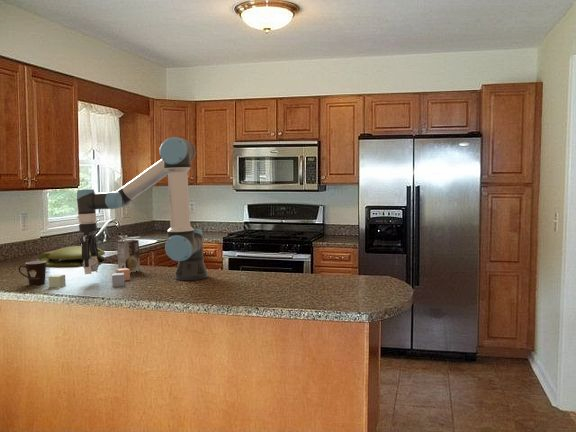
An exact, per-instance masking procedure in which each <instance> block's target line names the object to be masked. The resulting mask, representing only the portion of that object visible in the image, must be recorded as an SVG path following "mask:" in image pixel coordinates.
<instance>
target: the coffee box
mask: <svg viewBox="0 0 576 432" xmlns="http://www.w3.org/2000/svg"><path fill="white" fill-rule="evenodd" d="M116 248H117V249H116V250H117V269H122V268H128V269H130V274H131V272H132V273H136V271H137V272H141V261H140V242H139V240H138V239H125V240H124V239H123V240H118V241H116Z"/></svg>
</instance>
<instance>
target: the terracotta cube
mask: <svg viewBox="0 0 576 432" xmlns="http://www.w3.org/2000/svg"><path fill="white" fill-rule="evenodd" d="M115 273H124V281H130V280H131V273H130V269H128V268H122V269H118V268H115Z"/></svg>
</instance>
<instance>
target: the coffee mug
mask: <svg viewBox="0 0 576 432" xmlns="http://www.w3.org/2000/svg"><path fill="white" fill-rule="evenodd" d="M21 268H25V269H26V273H27V275H26V274H24V273H23V272H21ZM17 270H18V272H19V273H20V274H21V275H22V276H23V277H25V278H26V279H28V284H29V286H32V285H35V286H41V285H40V284H42V285H45V284H46V272H47V267H46V261H40V260H37V261H36V260H35V261H28V262H25V265H23V264H22V265H20V266H19V267H18V269H17ZM44 283H45V284H44Z"/></svg>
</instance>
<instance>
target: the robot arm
mask: <svg viewBox="0 0 576 432" xmlns="http://www.w3.org/2000/svg"><path fill="white" fill-rule="evenodd" d="M195 155H196V148H195V146H194V144H193V143H192V142H191V141H189V140H188V139H185V138H181V137H179V136H178V137H177V136H173V137H168V138H167V139H164V141H162V143H161V144H160V147H159V156H160V158H161V159H160V160H158V161H157V162H155V163H154V164H152V165H151V166H150V167H148V168H146V169H145V170H144V171H143V172H141V173H140V174H138V175H137V176H136V177H134V178H133V179H131V180H130V181H128V182H127V183H126V184H125V185H123V186H122V187H120V188H119V189H117V190H116V191H109V192H108V191H107V192H96V191H95V190H94V188H84V189H82V188H81V189H80V188H79V189H77V191H76V203H77V214H78V215H77V216H76V217H77V219H78V223H79V224H78V228H79V229H78V230H79V232H80V233H83V236H80V237H81V238H80V239H81V246H82V258H81V259H82V260H81V261H84V267H83V271H84V275H92V272H91V261H90V253H91V256H95V255H97V256H99V254H98V248H99V247H98V243H97V242H98V241H97V234H96V233H94V232H97V230H98V227H97V226H98V224H97V223H96V222H97V213H96V212H97V211H96V210H115V209H119V208H125V207H126V206H128V205H129V204H130V203H131V201H133V200H134V199H135V198H137V197H138V196H140V195H142V193H144V192H145V191H147V190H149V189H150V188H151V187H152V186H154V185H155V184H157V183H158V182H159V181H162V179H164V178H166V177H167V184H168V185H167V186H168V188H167V189H168V204H169V219H170V220H169V221H170V223H169V224H170V227H169V228H168V229H167V230H166V231H167V233H166V234H167V240H166V241H165V245H164V251H165V253H166V255H167V257H168V258H170V259H171V260H172V261H176V262H178V263H177V266H176V270H175V272H174V279H175V280H177V281H197V280H198V281H199V280H203V279H207V278H208V270H207V268H206V264H205V262H204V261H205V260H204V241H203V240H204V238H203V237H204V235H203V230H202V229H200V228H199V229H198V228H193V227H192V226H191V217H190V215H191V214H190V197H189V196H190V195H189V193H190V192H189V177H188V172H189V171H190V170H191V163H192V161H193V160H194V158H195V157H196V156H195ZM97 256H96V258H97ZM98 270H99V268H98V269H97V271H98Z"/></svg>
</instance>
